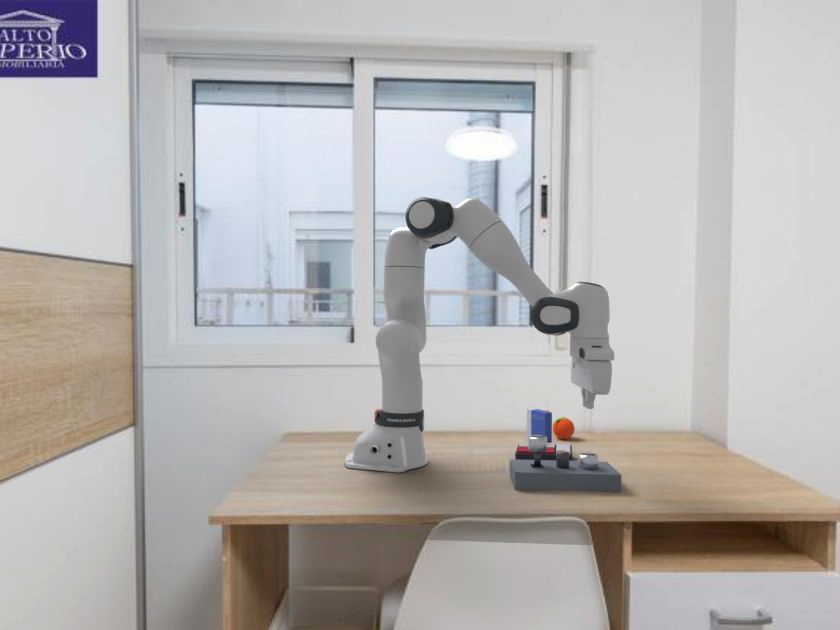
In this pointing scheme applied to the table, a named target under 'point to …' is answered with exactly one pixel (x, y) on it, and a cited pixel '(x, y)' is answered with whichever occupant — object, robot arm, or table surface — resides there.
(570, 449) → the calculator
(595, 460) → the knob
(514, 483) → the panel
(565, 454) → the dial
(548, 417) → the walkman
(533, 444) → the knob
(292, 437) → the table surface
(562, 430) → the clementine
